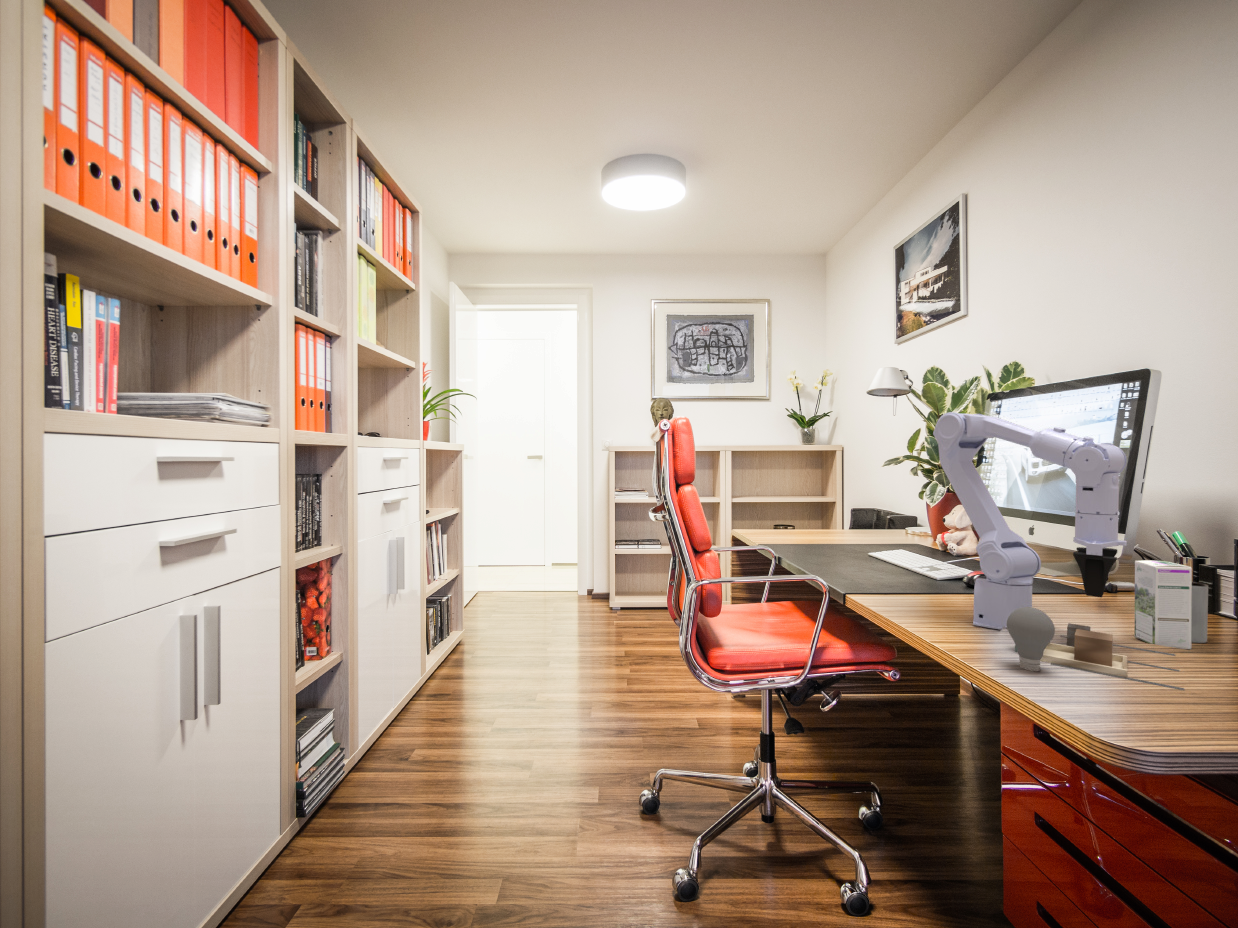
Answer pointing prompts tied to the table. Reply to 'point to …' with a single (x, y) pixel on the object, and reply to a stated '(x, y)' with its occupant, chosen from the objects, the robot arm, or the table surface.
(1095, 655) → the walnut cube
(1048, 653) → the cream sliding tray
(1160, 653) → the lane rails
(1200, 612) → the grey cylinder
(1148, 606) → the syrup box
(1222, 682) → the table surface
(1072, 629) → the cream flat panel
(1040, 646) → the light bulb
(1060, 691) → the table surface
